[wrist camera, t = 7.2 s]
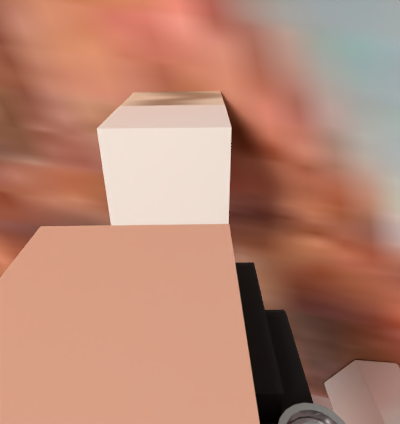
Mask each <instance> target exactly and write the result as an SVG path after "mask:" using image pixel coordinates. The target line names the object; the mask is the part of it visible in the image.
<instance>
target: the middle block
mask: <svg viewBox="0 0 400 424" xmlns="http://www.w3.org/2000/svg"><path fill="white" fill-rule="evenodd" d="M231 129H232V127H231V124H230V120H229V117H228V114H227V110H226V107H225V105H157V106H119V107H118V108H117V109H116V110H115V111H114V112H113V113H112V114H111V115H110V116H109V117H108V118H107V119H106V120H105V121H104V122H103V123H102V124H101V125H100V126H99V127H98V128H97V132H98V139H99V146H100V153H101V160H102V167H103V173H104V180H105V187H106V194H107V201H108V207H109V214H110V221H111V225H181V224H229V194H230V162H231Z"/></svg>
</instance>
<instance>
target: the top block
mask: <svg viewBox="0 0 400 424" xmlns="http://www.w3.org/2000/svg"><path fill="white" fill-rule="evenodd" d="M0 424H260V422H259V416H258V409H257V403H256V396H255V389H254V383H253V376H252V370H251V363H250V357H249V350H248V344H247V337H246V330H245V324H244V317H243V311H242V304H241V298H240V291H239V285H238V278H237V272H236V265H235V258H234V252H233V245H232V239H231V232H230V226H229V224H181V225H110V226H41V227H40V228H39V229H38V230H37V232H36V233H35V234H34V235H33V237H32V238H31V239H30V241H29V242H28V243H27V244H26V246H25V247H24V248H23V250H22V251H21V252H20V253H19V255H18V256H17V257H16V258H15V260H14V261H13V262H12V264H11V265H10V266H9V267H8V269H7V270H6V271H5V272H4V274H3V275H2V276H1V278H0Z"/></svg>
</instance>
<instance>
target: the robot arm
mask: <svg viewBox="0 0 400 424" xmlns="http://www.w3.org/2000/svg"><path fill="white" fill-rule="evenodd" d="M235 265H236V272H237V278H238V285H239V291H240V298H241V304H242V311H243V317H244V324H245V330H246V337H247V344H248V350H249V357H250V363H251V370H252V376H253V383H254V389H255V396H256V403H257V409H258V416H259V422H260V424H346V423H345V422H344V421H343V420H342V419H341V418H340V417H339V416H338V415H337V414H335V413H334V412H332V411H331V410H329V409H328V408H326V407H323V406H320V405H317V404H313V401H312V397H311V394H310V391H309V388H308V384H307V381H306V378H305V374H304V371H303V368H302V364H301V361H300V358H299V354H298V351H297V348H296V344H295V341H294V338H293V335H292V331H291V328H290V325H289V321H288V318H287V315H286V312H285V311H284V310H265V309H264V305H263V300H262V296H261V292H260V287H259V283H258V279H257V274H256V270H255V266H254V263H235Z"/></svg>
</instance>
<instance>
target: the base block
mask: <svg viewBox="0 0 400 424" xmlns="http://www.w3.org/2000/svg"><path fill="white" fill-rule="evenodd" d="M157 105H224V101H223V98H222V95H221V91H184V92H134V93H133V94H132V95H131V96H130V97H129V98H128V99H127V100H126V101H125V102H124V103H123V104H122V105H121V106H157Z"/></svg>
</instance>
